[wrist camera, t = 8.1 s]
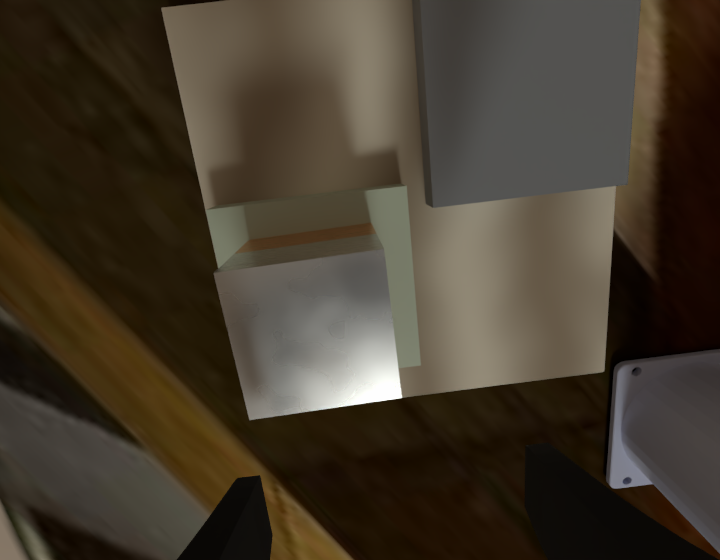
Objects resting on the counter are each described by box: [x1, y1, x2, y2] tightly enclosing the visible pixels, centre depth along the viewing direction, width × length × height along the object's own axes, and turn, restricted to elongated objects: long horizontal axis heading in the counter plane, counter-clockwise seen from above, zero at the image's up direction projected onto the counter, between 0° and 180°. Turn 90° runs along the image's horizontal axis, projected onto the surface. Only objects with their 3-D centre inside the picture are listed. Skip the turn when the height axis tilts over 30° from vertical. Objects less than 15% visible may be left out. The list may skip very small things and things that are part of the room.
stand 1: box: [206, 184, 421, 368], centre depth 18 cm, size 8×8×2 cm
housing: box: [214, 223, 402, 420], centre depth 15 cm, size 5×5×5 cm
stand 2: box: [412, 0, 641, 208], centre depth 17 cm, size 8×8×2 cm
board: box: [161, 0, 616, 397], centre depth 19 cm, size 18×18×1 cm
